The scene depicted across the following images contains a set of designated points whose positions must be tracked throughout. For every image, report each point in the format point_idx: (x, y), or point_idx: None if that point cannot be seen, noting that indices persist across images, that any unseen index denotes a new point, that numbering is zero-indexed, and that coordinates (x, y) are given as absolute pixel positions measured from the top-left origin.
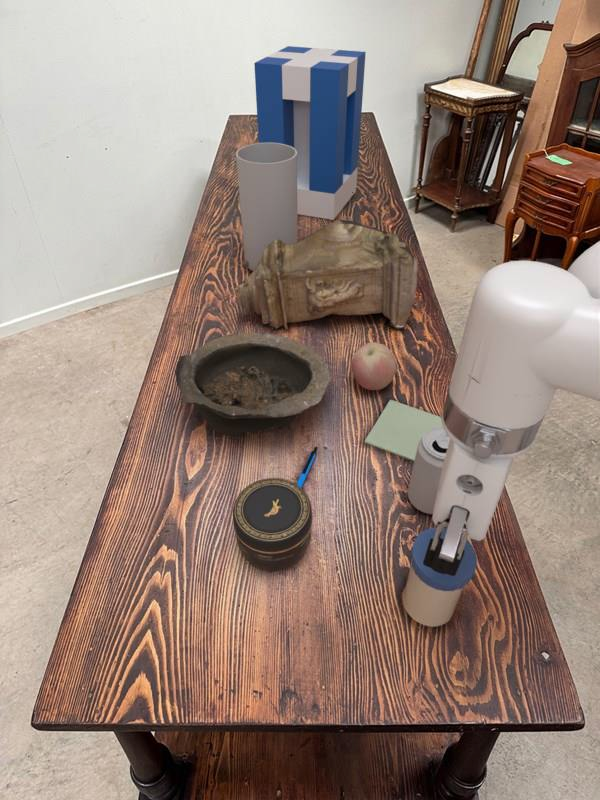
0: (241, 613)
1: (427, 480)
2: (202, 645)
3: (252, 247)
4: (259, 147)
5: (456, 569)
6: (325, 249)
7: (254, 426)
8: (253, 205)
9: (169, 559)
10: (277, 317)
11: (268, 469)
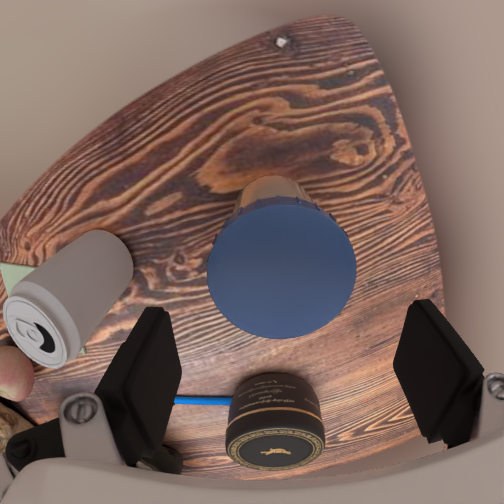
0: (362, 385)
1: (100, 311)
2: (395, 392)
3: None
4: None
5: (441, 317)
6: None
7: (162, 456)
8: None
9: (326, 440)
10: None
11: (188, 422)
